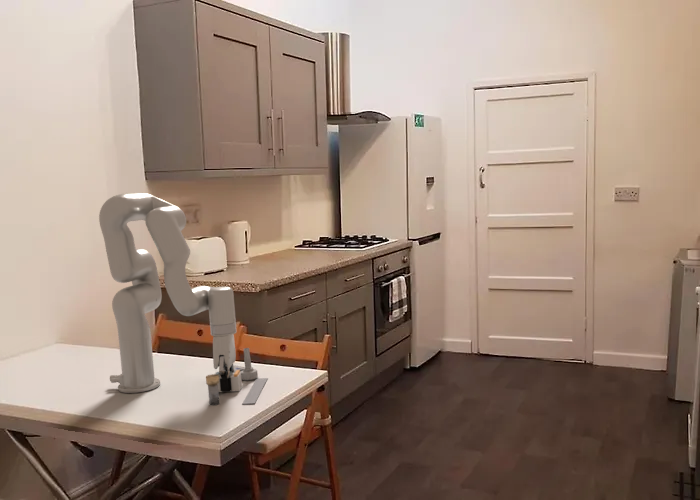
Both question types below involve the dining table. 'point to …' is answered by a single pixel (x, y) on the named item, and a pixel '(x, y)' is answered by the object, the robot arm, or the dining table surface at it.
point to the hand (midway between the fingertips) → (228, 387)
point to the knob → (213, 389)
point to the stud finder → (233, 381)
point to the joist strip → (255, 391)
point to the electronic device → (246, 367)
